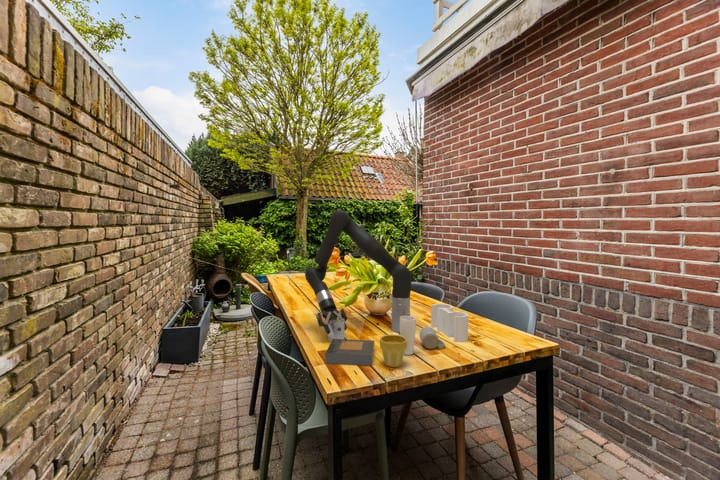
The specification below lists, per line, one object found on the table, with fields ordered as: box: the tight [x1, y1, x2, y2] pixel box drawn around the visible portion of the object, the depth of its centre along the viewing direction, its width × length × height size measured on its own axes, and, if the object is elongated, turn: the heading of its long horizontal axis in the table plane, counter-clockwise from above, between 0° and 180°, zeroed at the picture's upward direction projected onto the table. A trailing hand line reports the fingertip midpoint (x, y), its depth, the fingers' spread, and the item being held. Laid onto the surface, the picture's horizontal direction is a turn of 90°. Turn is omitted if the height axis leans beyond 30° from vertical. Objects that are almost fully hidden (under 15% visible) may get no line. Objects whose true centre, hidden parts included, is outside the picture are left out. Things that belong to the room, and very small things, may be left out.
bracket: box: [430, 303, 469, 343], centre depth 159 cm, size 25×10×12 cm, turn 14°
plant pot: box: [379, 334, 407, 368], centre depth 123 cm, size 10×10×10 cm
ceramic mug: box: [419, 326, 446, 350], centre depth 141 cm, size 11×8×8 cm
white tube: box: [399, 315, 417, 356], centre depth 134 cm, size 7×7×15 cm
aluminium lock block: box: [327, 319, 346, 343], centre depth 147 cm, size 6×6×10 cm
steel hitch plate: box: [324, 338, 375, 367], centre depth 130 cm, size 18×16×4 cm
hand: (337, 331), depth 146 cm, fingers open, 8 cm apart
